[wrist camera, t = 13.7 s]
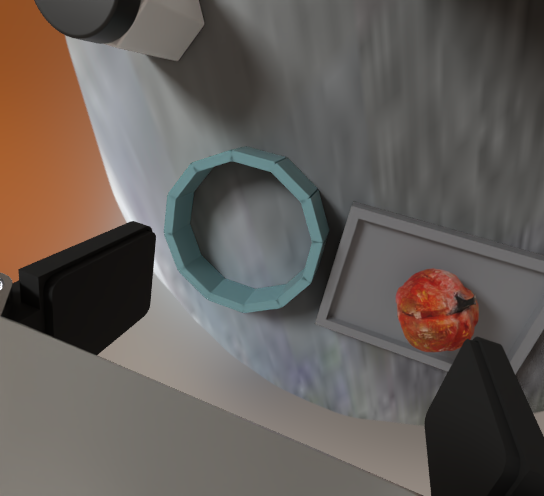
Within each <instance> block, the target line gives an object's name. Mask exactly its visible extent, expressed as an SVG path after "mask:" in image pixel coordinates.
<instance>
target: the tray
mask: <svg viewBox="0 0 544 496" xmlns="http://www.w3.org/2000/svg"><path fill="white" fill-rule="evenodd" d="M432 268H434V269H441V270H445V271H448V272H450V273H453V274H455V275H456V276H457V277H458V279H459V280H460V281H461V283H462V284H463V285H464V287H465V288H467V289H469V290H471V291H472V293H473V294H475V295H476V300H477V302H478V305H479V318H478V322H477V324H476V326H475V327H474V334H473V336H472V337H471V340H473V339H474V338H475V337H480V338H483V339H486V340H489V341H492V342H495V343H498V344H501V345H502V347H503V349H504V351H505V353H506V355H507V358H508V360H509V362H510V364H511V366H512V369H513V371H514V373H515V375H516V373H517V371H518V370H519V368H520V367H521V365H522V363H523V362H524V360H525V359H526V357H527V355H528V354H529V352H530V350H531V349H532V347H533V346H534V344H535V342H536V341H537V339H538V338H539V336H540V334H541V333H542V331H543V330H544V255H541V254H537V253H534V252H530V251H527V250H523V249H520V248H516V247H512V246H509V245H505V244H502V243H498V242H495V241H491V240H488V239H484V238H481V237H477V236H474V235H470V234H467V233H463V232H460V231H456V230H453V229H449V228H446V227H442V226H439V225H435V224H432V223H428V222H425V221H421V220H418V219H414V218H411V217H407V216H404V215H400V214H396V213H393V212H389V211H386V210H382V209H379V208H375V207H372V206H368V205H365V204H361V203H358V202H354V201H353V204H352V206H351V209H350V212H349V216H348V219H347V222H346V225H345V228H344V232H343V235H342V238H341V241H340V244H339V248H338V251H337V254H336V257H335V261H334V264H333V267H332V270H331V273H330V277H329V280H328V283H327V286H326V290H325V293H324V296H323V299H322V302H321V306H320V309H319V312H318V315H317V319H316V322H315V324H316V325H319V326H322V327H325V328H328V329H330V330H333V331H336V332H339V333H341V334H344V335H347V336H350V337H353V338H355V339H358V340H361V341H364V342H367V343H369V344H372V345H375V346H378V347H381V348H383V349H386V350H389V351H392V352H394V353H397V354H400V355H403V356H406V357H408V358H411V359H414V360H417V361H420V362H422V363H425V364H428V365H431V366H433V367H436V368H439V369H442V370H445V371H447V372H448V371H449V369H450V367H451V365H452V363H453V362H454V360H455V358H456V356H457V354H458V352H459V350H460V348H461V347H460V348H458V349H456V350H454V351H441V352H424V351H421V350H419V349H417V348H415V347H413V346H412V345H411V344H410V343H409V342H408V340H407V339H406V338H405V336H404V333H403V330H402V328H401V324H400V322H399V320H398V317H397V316H398V312H397V303H396V293H397V291H398V288H399V287H401V286H403V285H404V283H405V282H406V281H407V280H408V279H409V278H410V277H411V276H412V275H414V274H415V273H418V272H420V271H423V270H426V269H432Z"/></svg>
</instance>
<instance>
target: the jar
mask: <svg viewBox="0 0 544 496" xmlns="http://www.w3.org/2000/svg"><path fill="white" fill-rule="evenodd" d="M34 1H35V3H36V5H37V7H38V9H39V10H40V12H41V13H42V15H43V16H44V17H45V19H46V20H47V21H48V22H49V23H50V24H51V25H52V26H53V27H54V28H55V29H56V30H58V31H59V32H61V33H62V34H64V35H66V36H69V37H72V38H76V39H80V40H85V41H89V42H94V43H100V44H106V45H109V46H112V47H115V48H119V49H124V50H128V51H133V52H137V53H142V54H146V55H151V56H155V57H160V58H164V59H169V60H173V61H178V60H179V59H180V58H181V56H182V55H183V54H184V52H185V51H186V49H187V48H188V47H189V45H190V44H191V43H192V41H193V40H194V38H195V37H196V36H197V34H198V33H199V32H200V30H201V29H202V27H203V26H204V19H203V15H202V11H201V7H200V3H199V0H34Z"/></svg>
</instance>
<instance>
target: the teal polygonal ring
mask: <svg viewBox="0 0 544 496" xmlns="http://www.w3.org/2000/svg"><path fill="white" fill-rule="evenodd" d="M230 161H234V162H237V163H241V164H244V165H248V166H251V167H255V168H258V169H262V170H266V171H269V172H271V173H272V174H273V175H274V176H275V177H276V178H277V179H278V180H279V181H280V182H281V183H282V184H283V185H284V186H285V187H286V188H287V189H288V190H289V191H290V192H291V193H292V194H293V195H294V196H295V197H296V198H297V199H298V200H299V201H300V202H301V204H302V208H303V211H304V215H305V218H306V222H307V226H308V229H309V233H310V236H311V240H312V245H311V248H310V252H309V255H308V259H307V263H306V266H305V268H304V269H303V270H302V271H301V272H300V273H298V274H297V275H296V276H295V277H294V278H293V279H292V280H290V281H289V282H288V283H287V284H284V285H277V286H271V287H265V288H259V289H254V288H251V287H248V286H245V285H242V284H240V283H237V282H234V281H231V280H228V279H225V278H224V277H223V276H222V275H221V274H220V273H219V272H218V271H217V270H216V269H215V268H214V267H213V266H212V265H211V264H210V263H209V262H208V261H207V260H206V259H205V258H204V257H203V256H202V255H201V252H200V250H199V247H198V244H197V241H196V239H195V236H194V233H193V231H192V228H191V225H190V221H191V213H192V205H193V197H194V191H195V190H196V189H197V188H198V186H199V185H200V184H201V182H202V181H203V180H204V179H205V177H206V176H207V175H208V174H209V172H210V171H211V170H212V169H213V167H214V166H217V165H221V164H224V163H227V162H230ZM317 189H318V188H317V187H316V186H315V185H314V184H313V183H312V182H311V181H310V180H309V179H308V178H307V177H306V176H305V175H304V174H303V173H302V172H301V171H300V170H299V169H298V168H297V167H296V166H295V165H294V164H293V163H292V162H291V161H290V160H289V159H288V158H286V157H284V156H281V155H277V154H273V153H269V152H266V151H262V150H258V149H255V148H251V147H247V146H246V147H241V148H237V149H233V150H229V151H226V152H223V153H220V154H217V155H214V156H211V157H208V158H205V159H201V160H198V161H195V162H192V163H191V164H190V165H189V166H188V168H187V169H186V170H185V172H184V173H183V174H182V176H181V177H180V178H179V180H178V181H177V182H176V184H175V185H174V186H173V188H172V189H171V190H170V192H169V193H168V194H169V195H167V205H166V215H165V226H164V233H165V234H164V236H165V238H166V241H167V243H168V246H169V248H170V251H171V254H172V256H173V259H174V261H175V264H176V267H177V269H178V271H179V270H180V271H179V272H180V273H181V274H182V275H183V276H184V277H185V278H186V279H187V280H188V281H189V282H190V283H191V284H192V285H193V286H194V287H195V288H196V289H197V290H198V291H199V292H200V293H201V294H202V295H203V296H204V297H205V298H206V299H207V298H208V300H210V301H212V302H215V303H218V304H220V305H223V306H226V307H229V308H231V309H234V310H237V311H239V312H242V313H243V312H244V313H248V312H256V311H263V310H270V309H278V308H281V307H283V306H284V305H286V304H287V303H288V302H289V301H290V300H292V299H293V298H294V297H295V296H296V295H298V294H299V293H300V292H301V291H302V290H304V289H305V288H306V287H307V286H308V285H310V284H311V282H312V280H313V278H314V276H315V274H316V272H317V270H318V268H319V264H320V261H321V257H322V254H323V251H324V247H325V244H326V240H327V237H328V233H329V227H328V224H327V220H326V216H325V212H324V209H323V205H322V201H321V197H320V194H319V190H317Z"/></svg>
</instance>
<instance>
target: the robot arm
mask: <svg viewBox="0 0 544 496" xmlns="http://www.w3.org/2000/svg"><path fill="white" fill-rule="evenodd" d="M155 243H156V235H155V233H153V232H152V228H151V227H149V226H146V225H143V224H140V223H137V222H134V221H132V222H129V223H126V224H124V225H122V226H119V227H117V228H115V229H112V230H110V231H108V232H105V233H103V234H100V235H98V236H96V237H93V238H91V239H89V240H86V241H84V242H82V243H79V244H77V245H75V246H72V247H70V248H68V249H65V250H63V251H61V252H58V253H56V254H53V255H51V256H49V257H47V258H44V259H42V260H40V261H37V262H35V263H32V264H30V265H28V266H25V267H23V268H21V269H19V281H17V282H15V283H12V280H11V278H10V277H9V276H7V275H5V274H3V273H0V496H423V495H420V494H418V493H416V492H414V491H411V490H409V489H407V488H404V487H402V486H400V485H397V484H395V483H393V482H391V481H388V480H386V479H383V478H381V477H379V476H377V475H374V474H372V473H370V472H367V471H365V470H363V469H361V468H358V467H356V466H354V465H351V464H349V463H347V462H345V461H342V460H340V459H337V458H335V457H333V456H331V455H328V454H326V453H324V452H321V451H319V450H317V449H315V448H312V447H310V446H308V445H305V444H303V443H301V442H298V441H296V440H294V439H291V438H289V437H286V436H284V435H282V434H280V433H277V432H275V431H272V430H270V429H268V428H265V427H263V426H261V425H258V424H256V423H253V422H251V421H249V420H247V419H244V418H242V417H240V416H237V415H235V414H233V413H230V412H228V411H226V410H223V409H221V408H219V407H216V406H214V405H212V404H209V403H207V402H204V401H202V400H200V399H198V398H195V397H193V396H191V395H188V394H186V393H184V392H181V391H179V390H177V389H174V388H172V387H170V386H167V385H165V384H163V383H160V382H158V381H156V380H153V379H151V378H149V377H146V376H144V375H142V374H139V373H137V372H134V371H132V370H130V369H128V368H125V367H123V366H120V365H118V364H116V363H114V362H111V361H109V360H106V359H104V358H102V357H99V356H97V355H98V354H99V353H100V352H101V351H103V350H104V349H105V348H106V347H107V346H109V345H110V344H111V343H112V342H114V340H116V339H117V338H118V337H120V336H121V335H122V334H123V333H124V332H126V331H127V330H128V329H129V328H130V327H132V326H133V325H134V324H135V323H136V322H137V321H139V320H140V319H141V318H142V317H144V316H145V315H146V313H147V312H148V310H149V307H150V301H151V289H152V276H153V266H154V254H155ZM425 434H426V445H427V455H428V466H429V476H430V487H431V496H544V437H543V434H542V432H541V430H540V428H539V426H538V424H537V421H536V419H535V417H534V415H533V412H532V410H531V408H530V406H529V404H528V401H527V399H526V397H525V395H524V393H523V390H522V388H521V386H520V384H519V382H518V379H517V377H516V375H515V373H514V371H513V369H512V366H511V364H510V362H509V360H508V358H507V355H506V353H505V351H504V349H503V347H502V345H501V344H498V343H495V342H492V341H489V340H486V339H483V338H480V337H475V338H474V339H473V340H469V339H466V340H465V341H464V343H463V344H462V346H461V348H460V350H459V352H458V354H457V356H456V358H455V360H454V362H453V363H452V365H451V367H450V369H449V371H448V373H447V375H446V377H445V379H444V381H443V383H442V384H441V386H440V388H439V390H438V392H437V394H436V396H435V398H434V400H433V402H432V404H431V405H430V407H429V409H428V411H427V414H426V417H425Z"/></svg>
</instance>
